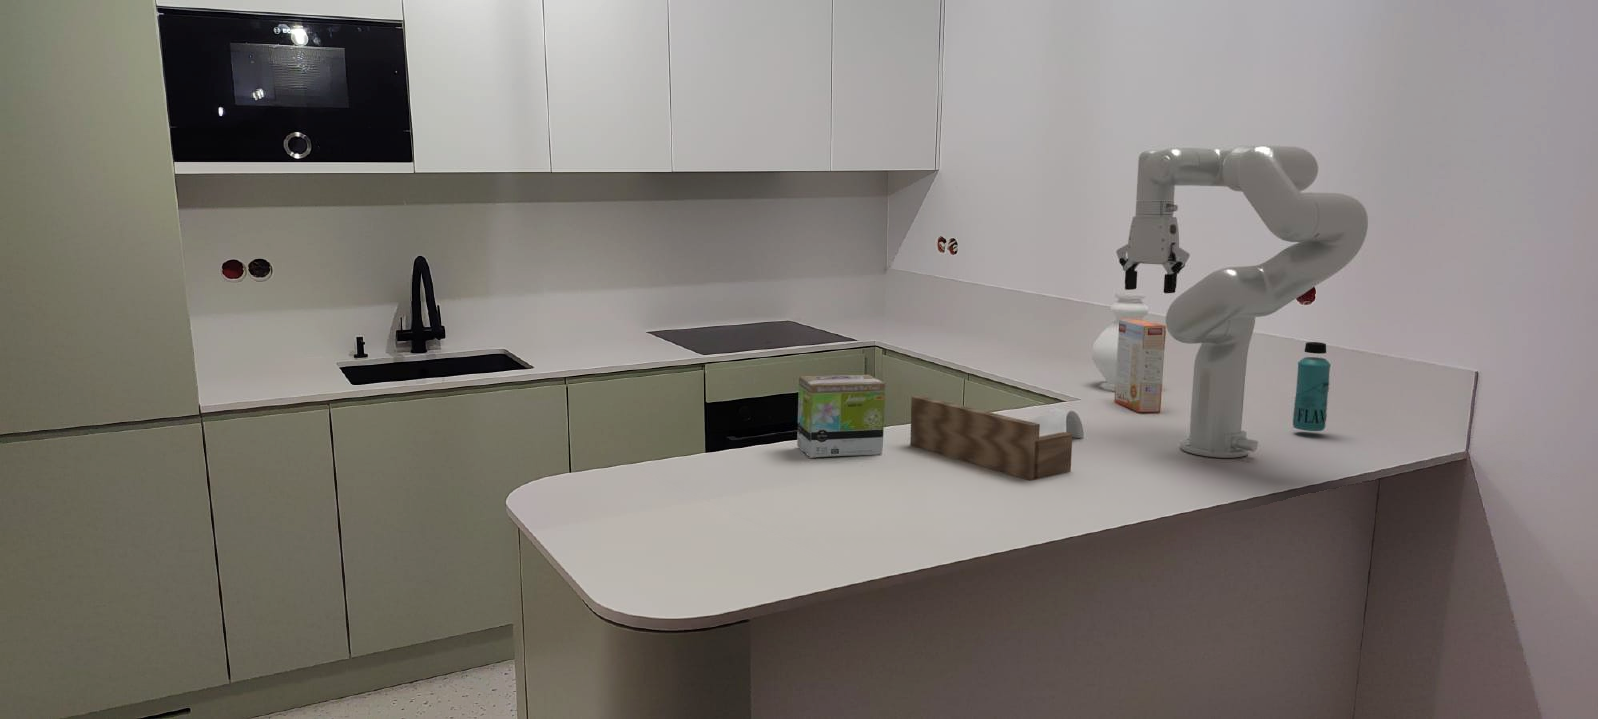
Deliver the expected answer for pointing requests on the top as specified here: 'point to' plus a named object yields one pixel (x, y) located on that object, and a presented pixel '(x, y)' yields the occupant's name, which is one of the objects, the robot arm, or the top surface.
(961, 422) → the stand
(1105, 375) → the decorative vase
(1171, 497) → the top surface
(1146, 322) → the cracker box
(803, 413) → the tea box
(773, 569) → the top surface
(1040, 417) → the spoon rest
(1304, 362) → the beverage bottle
